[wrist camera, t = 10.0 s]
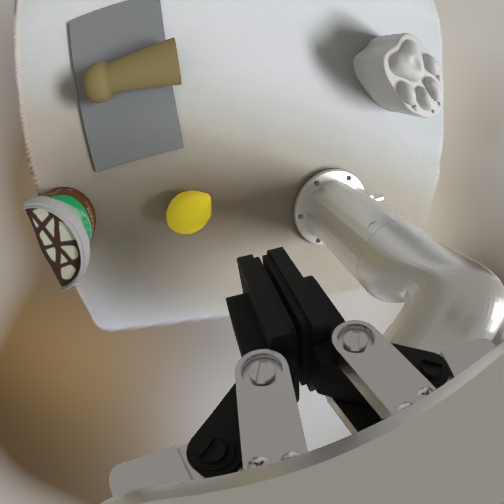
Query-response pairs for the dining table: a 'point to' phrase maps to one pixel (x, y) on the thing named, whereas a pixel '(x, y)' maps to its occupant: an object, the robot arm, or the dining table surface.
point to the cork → (133, 72)
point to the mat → (126, 103)
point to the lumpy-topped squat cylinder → (400, 75)
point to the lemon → (189, 211)
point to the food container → (63, 231)
